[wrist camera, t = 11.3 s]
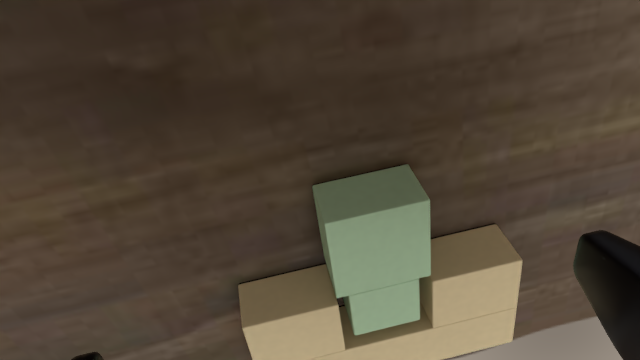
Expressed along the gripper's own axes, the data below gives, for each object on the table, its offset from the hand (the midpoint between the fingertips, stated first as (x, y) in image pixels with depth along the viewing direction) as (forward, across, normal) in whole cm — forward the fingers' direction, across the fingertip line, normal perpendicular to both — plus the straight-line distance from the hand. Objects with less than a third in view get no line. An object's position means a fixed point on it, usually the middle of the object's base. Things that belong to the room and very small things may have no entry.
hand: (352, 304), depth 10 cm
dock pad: (+11, -3, +12) cm, 16 cm away
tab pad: (+10, -3, +8) cm, 14 cm away
